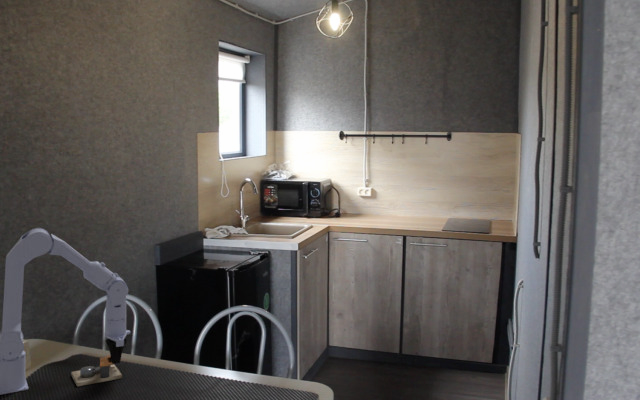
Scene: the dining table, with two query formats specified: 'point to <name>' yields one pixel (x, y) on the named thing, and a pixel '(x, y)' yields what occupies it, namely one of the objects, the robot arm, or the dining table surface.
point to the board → (96, 377)
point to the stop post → (104, 372)
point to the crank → (91, 370)
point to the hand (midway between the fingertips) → (115, 362)
